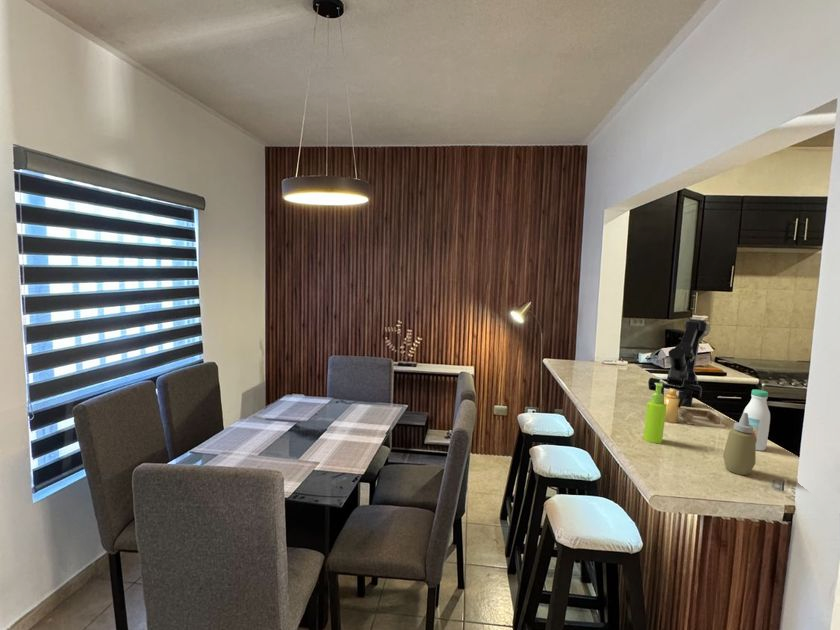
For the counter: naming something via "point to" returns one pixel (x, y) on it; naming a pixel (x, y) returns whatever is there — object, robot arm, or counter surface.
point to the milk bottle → (759, 417)
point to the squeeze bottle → (740, 447)
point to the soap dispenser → (655, 417)
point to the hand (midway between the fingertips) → (670, 405)
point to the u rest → (700, 417)
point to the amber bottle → (671, 406)
